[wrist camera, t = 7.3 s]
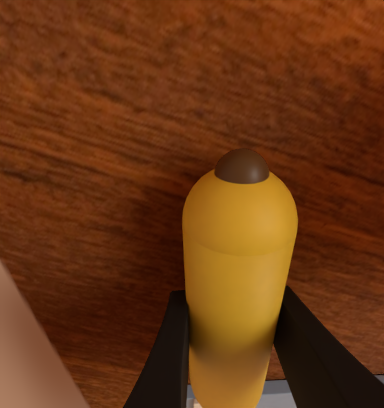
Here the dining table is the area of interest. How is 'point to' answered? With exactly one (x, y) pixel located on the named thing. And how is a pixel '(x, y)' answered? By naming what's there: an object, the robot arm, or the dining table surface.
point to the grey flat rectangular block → (265, 395)
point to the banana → (235, 276)
